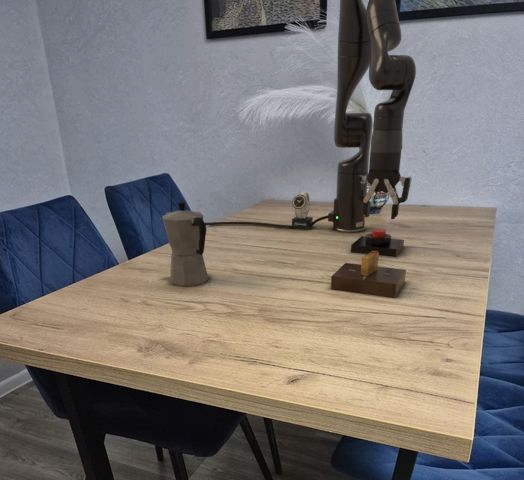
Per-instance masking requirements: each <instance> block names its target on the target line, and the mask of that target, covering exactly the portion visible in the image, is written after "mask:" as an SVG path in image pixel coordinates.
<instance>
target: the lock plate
mask: <svg viewBox="0 0 524 480" xmlns="http://www.w3.org/2000/svg"><path fill="white" fill-rule="evenodd" d="M406 274H407V269H404V268H403V269H402V268H393V267H385V266H378V270H377V271H375V272H373V273H372V274H370V275H368V276H364V275H361V263H360V264H359V263H350V262H345V263H343V265H341V266H340V267H339V268H338V269H337V270H336V271H334V272H333V274H332V275H331V276H330V277H331V279H330V289H331V290H337V291H344V292H352V293H360V294H366V295H374V296H379V297H388V298H396V297H397V295H398V294H399V292H400V290H401V289H402V287H403V286H404V284H405V282H406Z"/></svg>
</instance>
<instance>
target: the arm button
mask: <svg viewBox="0 0 524 480" xmlns="http://www.w3.org/2000/svg"><path fill="white" fill-rule="evenodd" d="M371 233H372V237H376V238H383V237H385V236H386V234H387V230H386V229H383V228H375V229H372V230H371Z"/></svg>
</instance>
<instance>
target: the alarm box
mask: <svg viewBox="0 0 524 480" xmlns="http://www.w3.org/2000/svg"><path fill="white" fill-rule="evenodd" d="M404 244H405V239H401V238H392V235H391V234H390V233H386V236H385V237H383V238H376V237H372V232H370V233H367V234H366V235H361V236H360V237H359V238H357V239H356V240H355V241H354V242H352V244H351V245H350V253H353V254H360V255H367V254H369V253H371V251H378V252H379V257H391V258H396V257H397V256H398V255H399V253H400V252H401V251H402V250H403V249H404V247H405V246H404Z"/></svg>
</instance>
